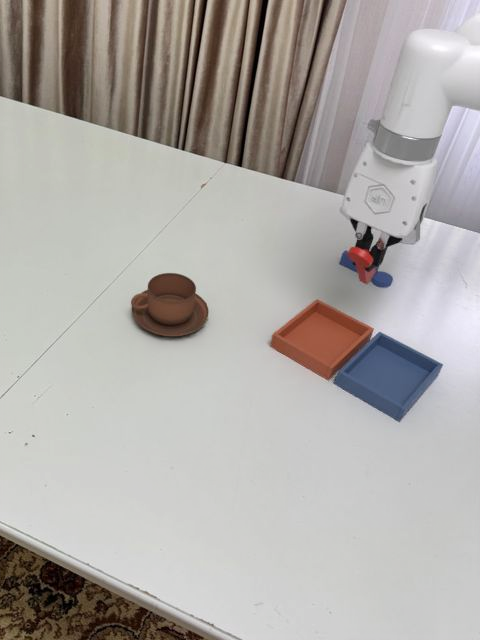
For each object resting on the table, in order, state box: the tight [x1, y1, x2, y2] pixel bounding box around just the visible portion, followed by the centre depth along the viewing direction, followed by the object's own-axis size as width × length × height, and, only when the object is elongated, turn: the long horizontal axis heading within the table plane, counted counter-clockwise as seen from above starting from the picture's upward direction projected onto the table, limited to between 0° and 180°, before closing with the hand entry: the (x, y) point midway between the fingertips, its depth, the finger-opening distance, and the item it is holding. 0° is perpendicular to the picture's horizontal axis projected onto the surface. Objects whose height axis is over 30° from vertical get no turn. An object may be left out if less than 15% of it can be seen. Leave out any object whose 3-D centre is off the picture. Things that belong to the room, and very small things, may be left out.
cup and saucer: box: [130, 272, 210, 337], centre depth 96 cm, size 12×12×6 cm
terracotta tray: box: [269, 298, 375, 381], centre depth 95 cm, size 10×13×2 cm
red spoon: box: [347, 246, 376, 285], centre depth 89 cm, size 10×4×2 cm
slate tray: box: [333, 331, 444, 422], centre depth 90 cm, size 10×13×2 cm
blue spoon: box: [339, 250, 394, 289], centre depth 110 cm, size 10×4×2 cm, turn 49°
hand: (365, 264), depth 89 cm, fingers closed on red spoon, 1 cm apart
